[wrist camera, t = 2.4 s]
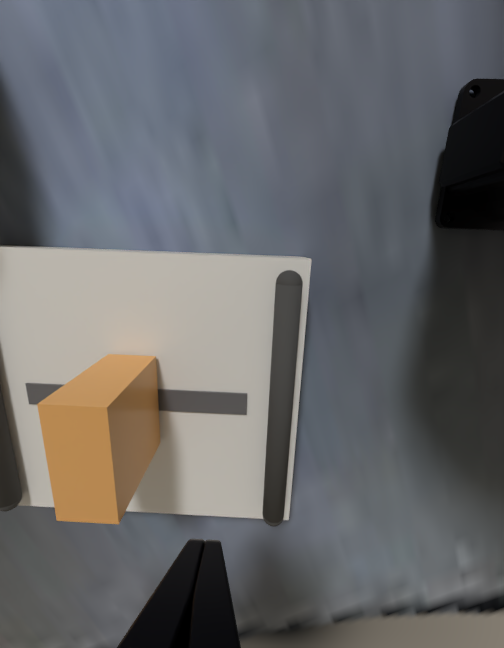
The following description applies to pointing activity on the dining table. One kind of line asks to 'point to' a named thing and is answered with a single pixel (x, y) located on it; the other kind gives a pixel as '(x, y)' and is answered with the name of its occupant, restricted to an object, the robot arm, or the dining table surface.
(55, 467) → the handle
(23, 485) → the box
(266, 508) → the pair of mounting rails
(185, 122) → the dining table surface
